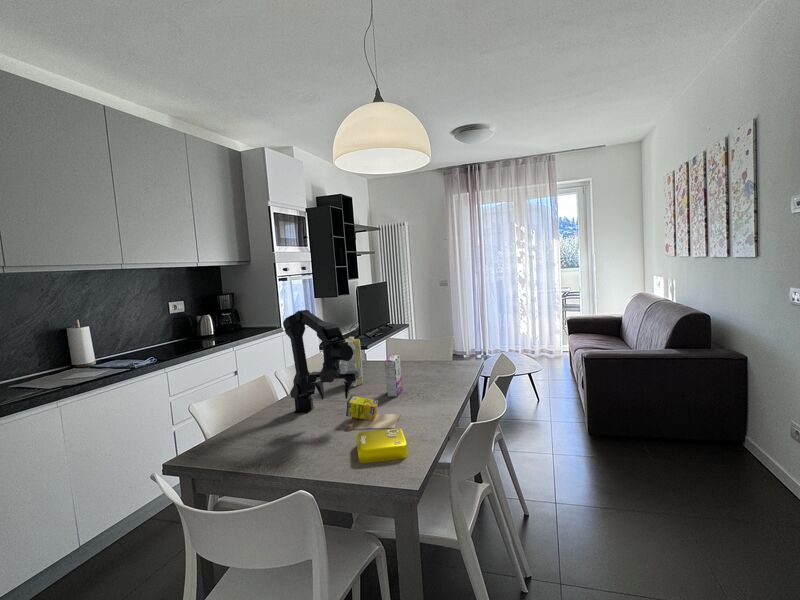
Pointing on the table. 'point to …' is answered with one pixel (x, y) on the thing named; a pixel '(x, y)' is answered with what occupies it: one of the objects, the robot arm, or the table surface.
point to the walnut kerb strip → (351, 423)
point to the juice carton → (353, 361)
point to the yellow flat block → (381, 445)
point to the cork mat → (378, 422)
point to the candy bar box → (393, 376)
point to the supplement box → (362, 408)
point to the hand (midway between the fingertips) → (334, 398)
